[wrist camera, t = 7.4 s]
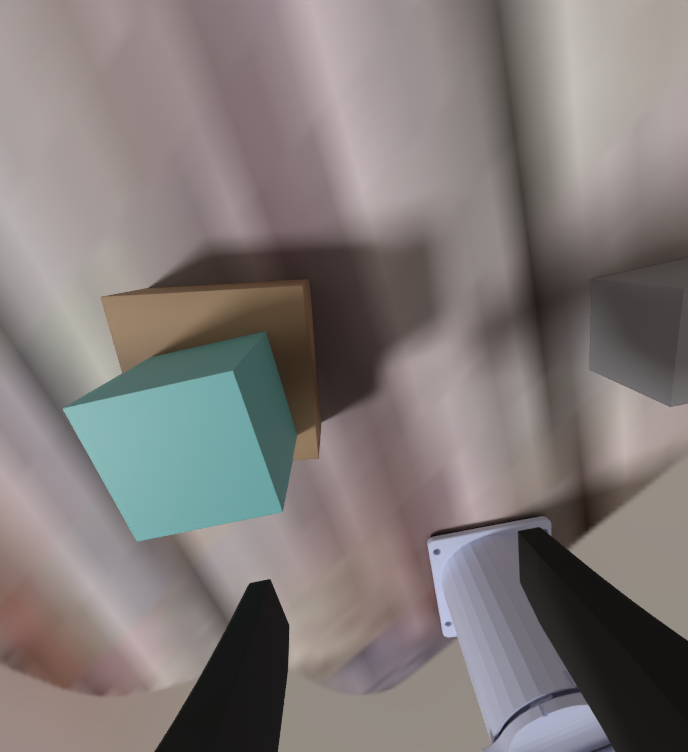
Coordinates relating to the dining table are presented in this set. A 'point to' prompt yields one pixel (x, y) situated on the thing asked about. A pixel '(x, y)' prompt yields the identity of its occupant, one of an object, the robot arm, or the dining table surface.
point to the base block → (228, 334)
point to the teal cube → (192, 437)
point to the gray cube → (643, 330)
